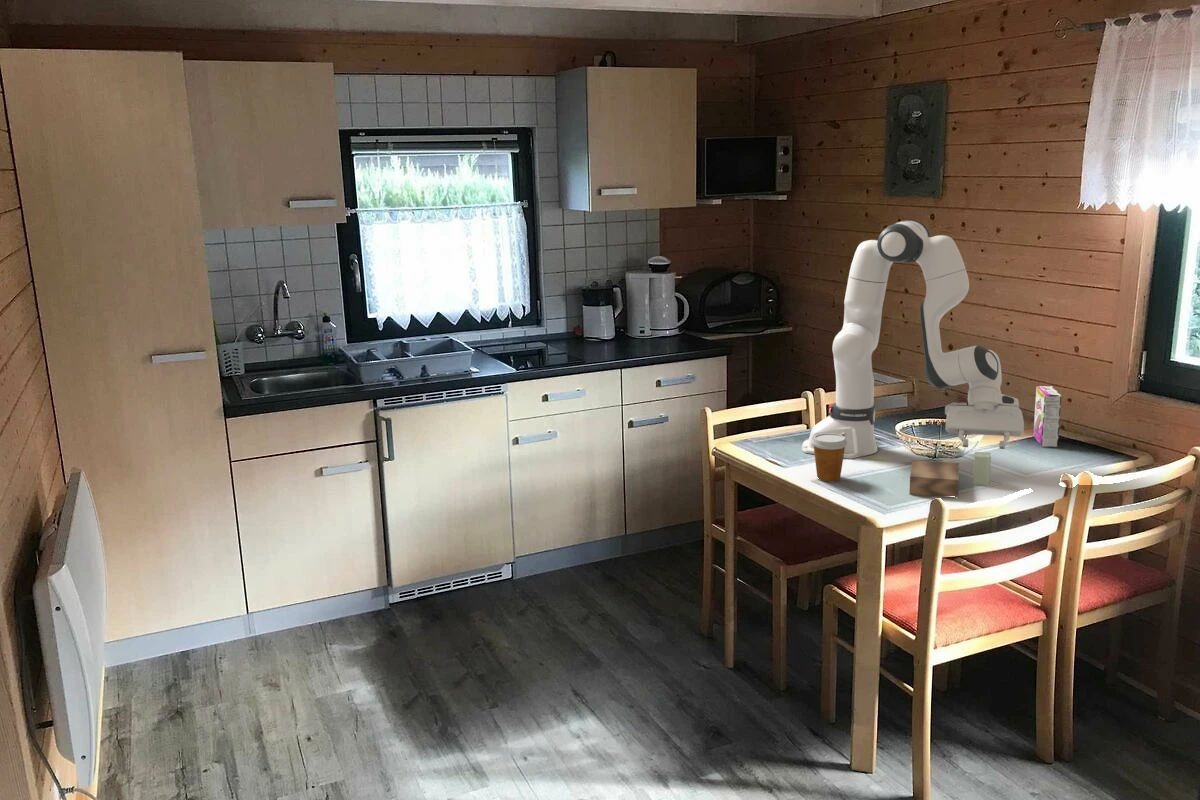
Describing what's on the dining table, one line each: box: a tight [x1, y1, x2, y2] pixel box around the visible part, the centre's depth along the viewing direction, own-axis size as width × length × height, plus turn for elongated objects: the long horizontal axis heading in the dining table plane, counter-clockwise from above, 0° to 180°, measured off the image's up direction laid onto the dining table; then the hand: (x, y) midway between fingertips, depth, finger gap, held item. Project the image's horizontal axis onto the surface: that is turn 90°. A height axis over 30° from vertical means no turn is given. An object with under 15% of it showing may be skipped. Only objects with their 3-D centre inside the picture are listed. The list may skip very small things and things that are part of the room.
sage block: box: [972, 451, 992, 486], centre depth 258 cm, size 4×4×8 cm
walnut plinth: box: [908, 459, 960, 497], centre depth 256 cm, size 12×14×5 cm
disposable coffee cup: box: [812, 433, 847, 482], centre depth 266 cm, size 10×10×12 cm
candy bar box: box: [1032, 385, 1062, 448], centre depth 289 cm, size 11×5×16 cm, turn 168°
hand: (983, 447), depth 260 cm, fingers open, 8 cm apart
